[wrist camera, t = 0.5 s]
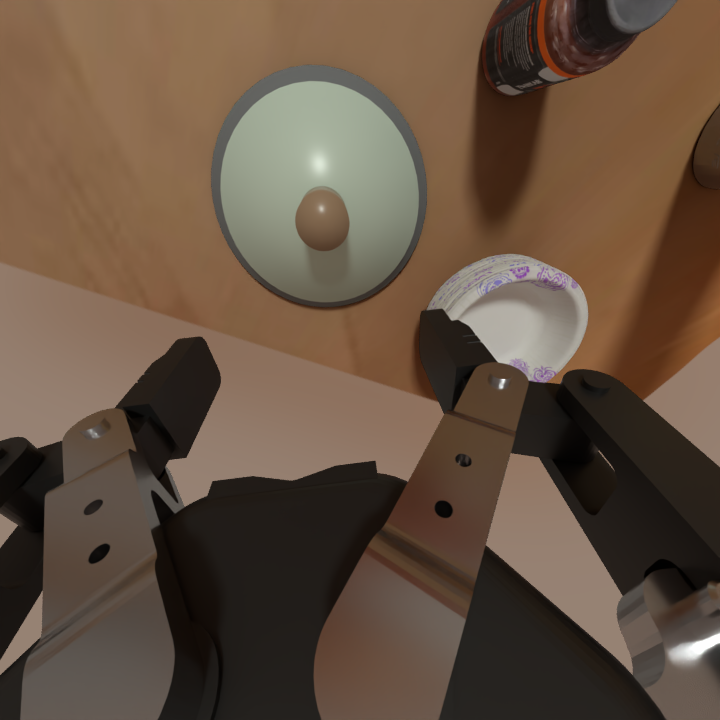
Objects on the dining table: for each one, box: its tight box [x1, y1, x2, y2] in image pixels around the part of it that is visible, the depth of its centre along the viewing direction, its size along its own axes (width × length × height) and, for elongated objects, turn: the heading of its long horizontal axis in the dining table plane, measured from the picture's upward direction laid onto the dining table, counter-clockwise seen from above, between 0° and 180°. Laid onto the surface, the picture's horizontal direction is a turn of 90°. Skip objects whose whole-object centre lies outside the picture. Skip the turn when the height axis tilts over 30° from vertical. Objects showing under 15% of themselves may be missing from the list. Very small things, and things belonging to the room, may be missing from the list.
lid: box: [220, 81, 419, 302], centre depth 24 cm, size 17×17×6 cm
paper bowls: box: [427, 254, 588, 383], centre depth 32 cm, size 15×15×8 cm
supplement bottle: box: [482, 0, 677, 96], centre depth 18 cm, size 6×6×11 cm
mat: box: [211, 65, 427, 307], centre depth 27 cm, size 19×19×1 cm
